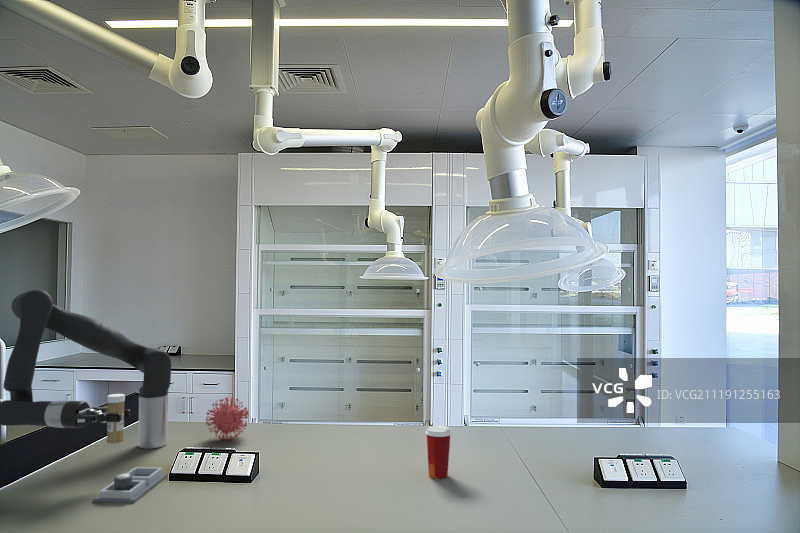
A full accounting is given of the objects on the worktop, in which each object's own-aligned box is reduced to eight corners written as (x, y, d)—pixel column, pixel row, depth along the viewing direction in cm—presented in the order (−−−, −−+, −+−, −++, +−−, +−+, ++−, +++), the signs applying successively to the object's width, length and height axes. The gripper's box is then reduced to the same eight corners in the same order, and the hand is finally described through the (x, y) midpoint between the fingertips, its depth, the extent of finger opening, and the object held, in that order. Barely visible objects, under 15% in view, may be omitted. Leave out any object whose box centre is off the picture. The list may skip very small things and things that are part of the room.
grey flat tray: (130, 475, 168) (130, 457, 168) (167, 476, 168) (167, 458, 168) (92, 501, 149) (93, 481, 149) (134, 502, 149) (134, 482, 149)
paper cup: (454, 473, 173) (454, 427, 173) (445, 481, 166) (446, 433, 166) (430, 469, 176) (430, 424, 176) (420, 477, 169) (421, 430, 169)
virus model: (207, 434, 212) (207, 394, 212) (248, 432, 215) (249, 392, 216) (203, 446, 198) (204, 403, 198) (247, 443, 201) (248, 401, 201)
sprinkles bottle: (124, 442, 164) (126, 395, 164) (107, 444, 161) (108, 397, 161) (122, 438, 168) (123, 392, 168) (105, 440, 165) (106, 394, 165)
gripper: (51, 406, 158) (112, 408, 157) (82, 395, 172) (138, 397, 172) (50, 434, 158) (111, 435, 157) (81, 420, 172) (137, 422, 171)
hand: (125, 415), depth 164 cm, fingers closed on sprinkles bottle, 4 cm apart
